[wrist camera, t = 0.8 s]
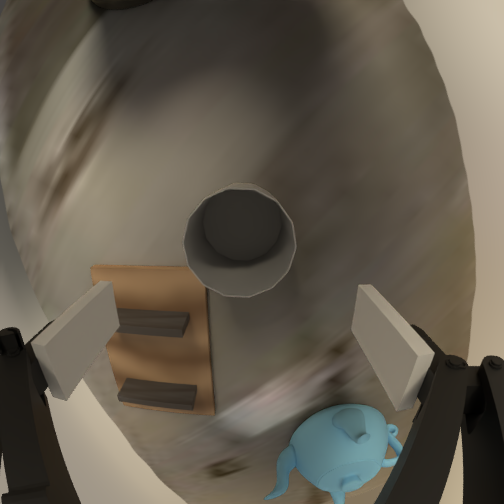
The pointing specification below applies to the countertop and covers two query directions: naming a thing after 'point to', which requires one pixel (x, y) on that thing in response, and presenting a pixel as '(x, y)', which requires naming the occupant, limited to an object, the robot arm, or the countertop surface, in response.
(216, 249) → the cup
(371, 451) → the teapot
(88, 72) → the countertop surface
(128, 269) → the end holder
